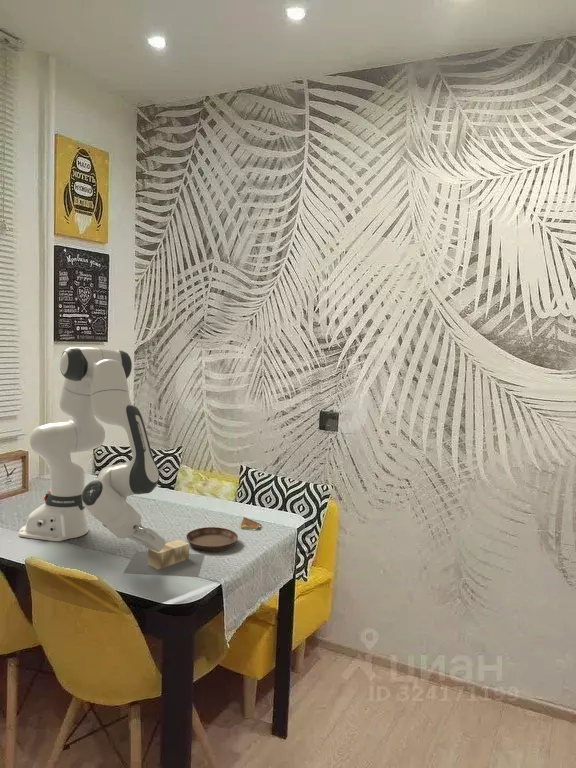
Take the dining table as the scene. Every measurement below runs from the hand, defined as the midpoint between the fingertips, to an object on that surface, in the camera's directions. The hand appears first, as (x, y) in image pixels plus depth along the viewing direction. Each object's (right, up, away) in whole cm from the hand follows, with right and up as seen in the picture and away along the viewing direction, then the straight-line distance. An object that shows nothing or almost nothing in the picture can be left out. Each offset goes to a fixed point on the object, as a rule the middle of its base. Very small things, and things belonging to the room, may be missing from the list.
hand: (151, 546), depth 181 cm
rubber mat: (+3, -7, +4) cm, 9 cm away
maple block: (0, -4, +1) cm, 4 cm away
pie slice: (+25, -5, +46) cm, 53 cm away
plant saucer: (+15, -6, +26) cm, 30 cm away
